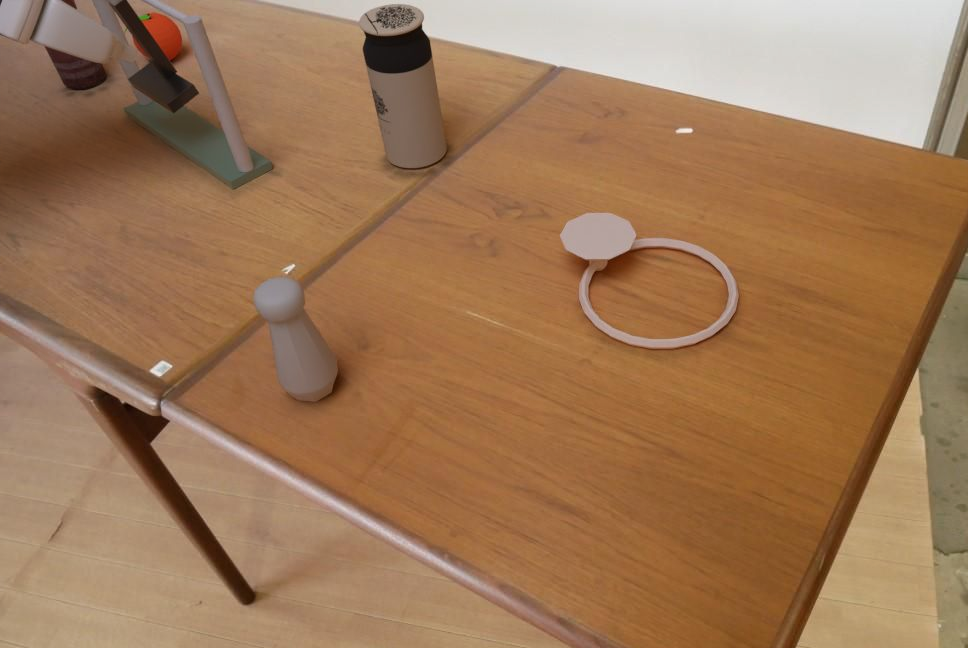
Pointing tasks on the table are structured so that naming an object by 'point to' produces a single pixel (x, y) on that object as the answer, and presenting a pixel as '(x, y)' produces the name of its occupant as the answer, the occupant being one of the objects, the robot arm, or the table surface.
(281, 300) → the salt shaker
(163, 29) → the clementine
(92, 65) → the can
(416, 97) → the travel mug
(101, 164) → the table surface
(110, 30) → the robot arm
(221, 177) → the rack
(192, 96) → the hanger
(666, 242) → the hand towel holder
